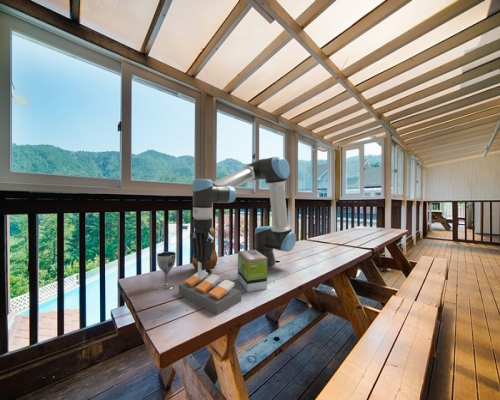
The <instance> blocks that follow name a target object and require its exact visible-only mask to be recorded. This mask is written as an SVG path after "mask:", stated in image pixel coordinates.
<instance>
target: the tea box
mask: <svg viewBox="0 0 500 400" xmlns="http://www.w3.org/2000/svg"><path fill="white" fill-rule="evenodd" d="M237 280H238V281H239V282H240V283H241V285H242V287H243V288H244V289H245V291H246V292H247V293H249V291H250V292H255V290H256V291H262V290H267V289H268V266H267V257H265V256H264V255H262V254H261V253H259V252H258V251H257V250H255V249H249V250H238V251H237Z"/></svg>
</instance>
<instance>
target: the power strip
mask: <svg viewBox="0 0 500 400" xmlns="http://www.w3.org/2000/svg"><path fill="white" fill-rule="evenodd" d="M207 278H208V276H207V277H205V278H204V279H202V280H201V282H203V281H204V280H205V279H207ZM201 282H198V283H197V284H195V285H194V286H189V285H187V284H185V282H183V283H180V284H178V295H179V296H181V297H183V298H185V299H187V300H188V301H191V302H192V303H194V304H196V305H197V306H200V307H201V308H203V309H204V310H207V311H208V312H210V313H212V314H214V315H215V316H218V315H220V314H222V313H223V312H225V311H227V310H228V309H230V308H232V307H234V306H235V305H237V304H240V303H241V302H242V291H241V290H239V289H238V288H235V287H232V288H231V289H230V290H229V291H228V292H227V293H226V294H224V295H223V296H222V297H221V298H220V299H217V298H215V297H212V296H210V295H209V292H210V291H211V290H213V289H214V288H215V287H216V286H218V285H219V284H220V283H221V282H220V281H218V282H217V283H216V284H215V285H214V286H213V287H212V288H210V289H209V290H208V291H207V292H205V293H203V292H201V291H199V290H197V289H196V286H198V285H199V284H200V283H201Z"/></svg>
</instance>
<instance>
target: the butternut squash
mask: <svg viewBox="0 0 500 400" xmlns="http://www.w3.org/2000/svg"><path fill="white" fill-rule="evenodd" d="M210 232H211V236H212V237H215V238H216V230H215V228H214V226H212V228H211V229H210ZM196 255H197V254H196ZM191 260H192V261H191V263H192V266H193V268H194V269H195V270H197V271H198V267H197V259H196V258H194V255H193V254H192V259H191ZM217 262H218V254H217V250H216V240H215V241H214V243H213V248H212V254H211V259H210V260H209V261H207V262H206V272H208V271H210V270H214V269H215V268H216V266H217Z"/></svg>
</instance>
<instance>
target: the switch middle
mask: <svg viewBox="0 0 500 400" xmlns="http://www.w3.org/2000/svg"><path fill="white" fill-rule="evenodd" d="M221 279H222V278H221V276H219V275H216V274H214V273H212V274H210V275H208V276H207V279H205V280H204V281H203V282H201V283H200V284H199V285H198V286H196V289H197V290H199V291H201V292H203V293H205V292H207V291H208V290H209V289H210V288H212V287H213V286H214V285H215V284H216V283H217V282H220V280H221Z"/></svg>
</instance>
